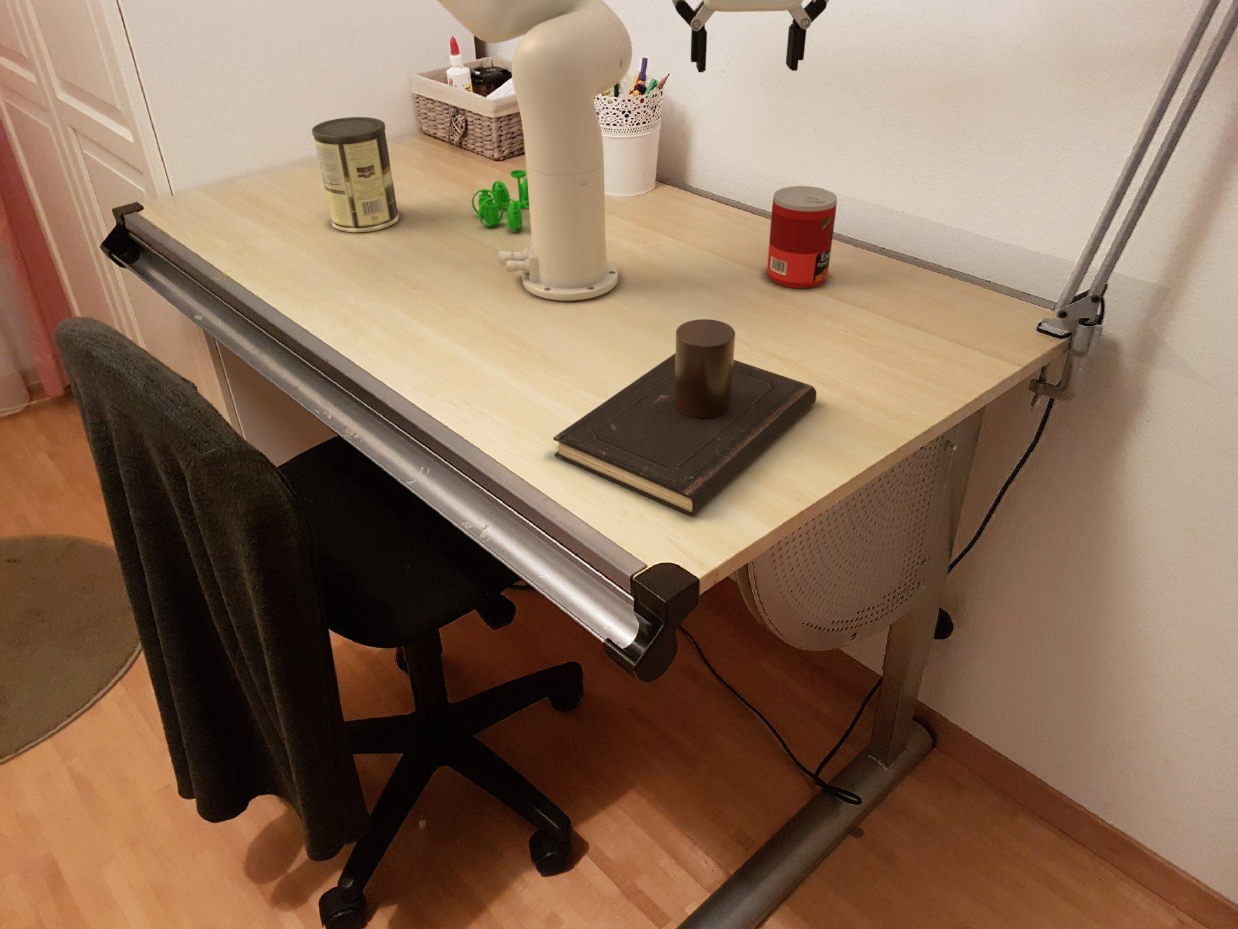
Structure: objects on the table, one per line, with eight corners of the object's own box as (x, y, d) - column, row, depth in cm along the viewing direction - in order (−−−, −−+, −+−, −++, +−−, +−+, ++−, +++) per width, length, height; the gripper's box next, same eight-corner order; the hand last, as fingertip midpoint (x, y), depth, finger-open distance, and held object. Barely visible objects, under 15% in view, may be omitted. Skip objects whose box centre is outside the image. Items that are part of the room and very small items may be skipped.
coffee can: (365, 204, 146) (349, 112, 138) (413, 216, 142) (399, 122, 134) (316, 224, 139) (296, 129, 131) (364, 237, 135) (347, 140, 127)
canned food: (826, 291, 118) (837, 207, 112) (764, 286, 119) (771, 204, 113) (827, 267, 124) (837, 187, 118) (768, 263, 125) (775, 183, 119)
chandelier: (576, 201, 146) (574, 157, 142) (563, 236, 134) (561, 190, 130) (483, 199, 148) (479, 156, 144) (462, 234, 135) (457, 188, 131)
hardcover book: (554, 456, 88) (553, 436, 87) (686, 362, 103) (687, 344, 102) (693, 518, 80) (694, 497, 79) (815, 406, 95) (817, 387, 94)
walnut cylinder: (676, 419, 89) (678, 346, 85) (672, 390, 94) (674, 319, 89) (733, 418, 89) (738, 345, 85) (727, 389, 94) (731, 318, 89)
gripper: (670, -120, 84) (666, 78, 94) (858, -123, 84) (835, 75, 94) (665, -125, 90) (662, 62, 100) (840, -127, 90) (820, 59, 100)
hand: (746, 68), depth 97 cm, fingers open, 9 cm apart
